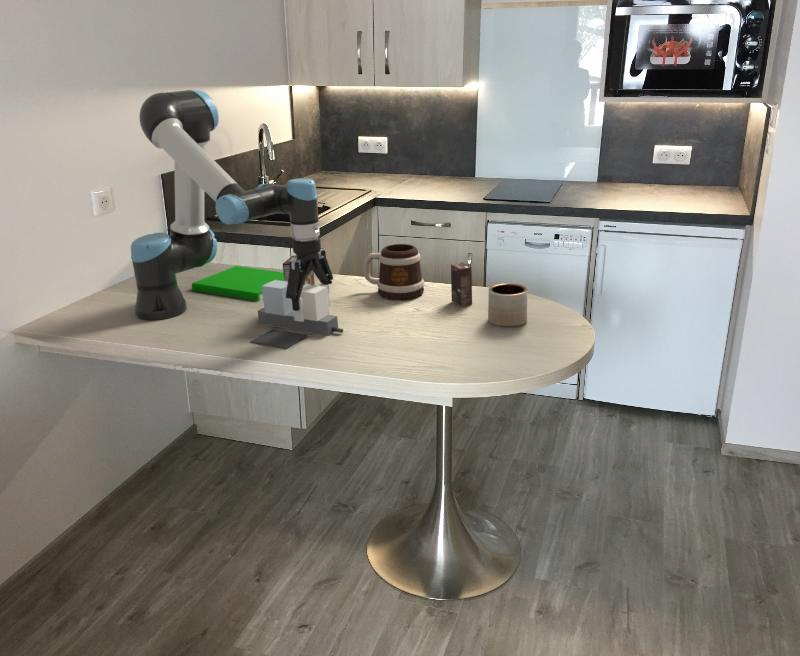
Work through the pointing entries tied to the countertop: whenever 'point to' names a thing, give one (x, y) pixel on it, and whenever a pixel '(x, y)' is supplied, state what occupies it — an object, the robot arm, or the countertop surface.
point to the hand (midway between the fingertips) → (312, 313)
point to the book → (238, 282)
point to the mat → (279, 338)
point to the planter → (507, 305)
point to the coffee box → (309, 278)
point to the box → (461, 284)
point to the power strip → (300, 323)
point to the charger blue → (276, 298)
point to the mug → (397, 272)
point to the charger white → (314, 302)
